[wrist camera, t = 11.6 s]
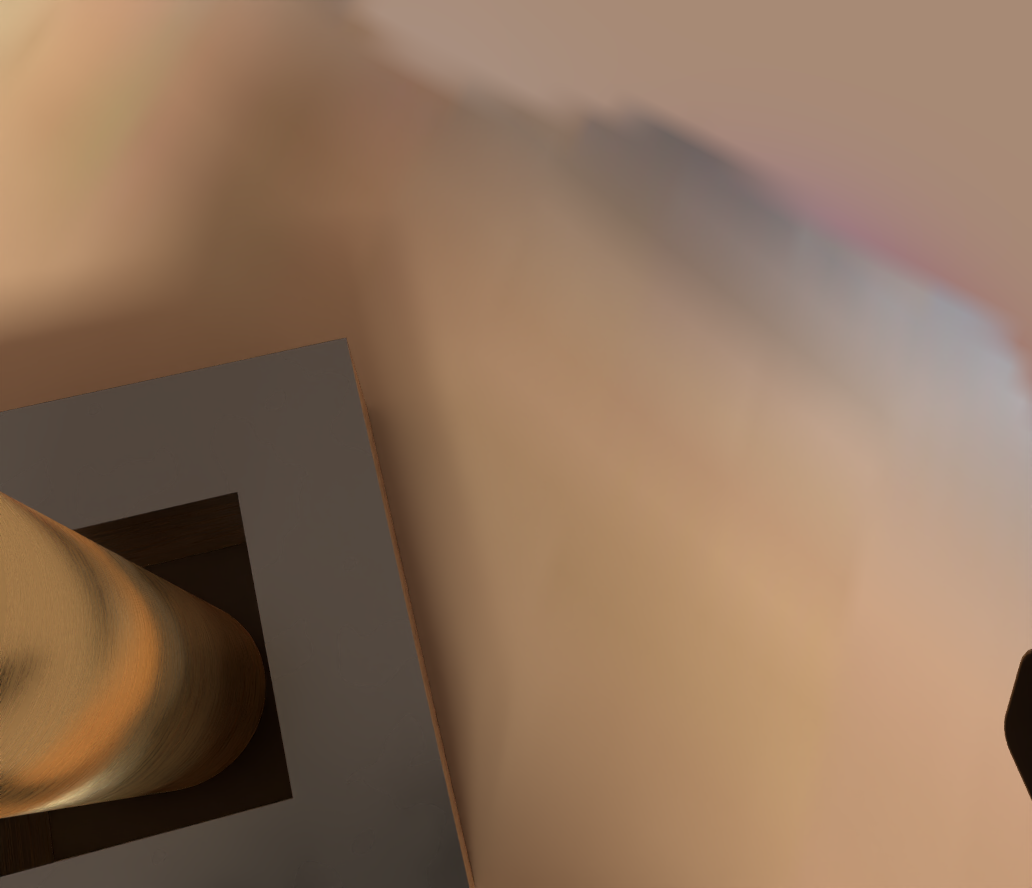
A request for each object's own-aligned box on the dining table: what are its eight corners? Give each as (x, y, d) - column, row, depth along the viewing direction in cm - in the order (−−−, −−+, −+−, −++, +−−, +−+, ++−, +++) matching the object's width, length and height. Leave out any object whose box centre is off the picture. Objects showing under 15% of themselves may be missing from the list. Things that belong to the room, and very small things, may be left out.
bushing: (281, 762, 21) (26, 790, 9) (90, 813, 20) (-453, 914, 8) (248, 580, 22) (-19, 384, 10) (65, 625, 21) (-447, 476, 9)
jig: (473, 884, 20) (475, 916, 16) (-67, 1038, 19) (-201, 1111, 15) (366, 404, 23) (346, 337, 19) (-109, 510, 22) (-230, 461, 18)
